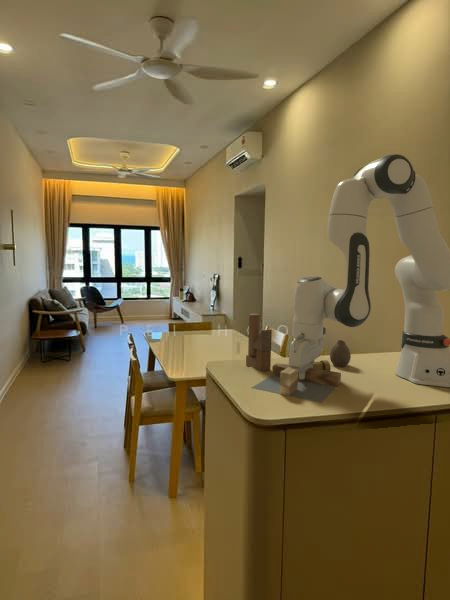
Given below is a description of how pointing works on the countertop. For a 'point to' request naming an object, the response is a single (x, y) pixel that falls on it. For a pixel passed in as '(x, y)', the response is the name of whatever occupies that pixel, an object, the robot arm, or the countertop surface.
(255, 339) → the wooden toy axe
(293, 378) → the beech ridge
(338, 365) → the vase
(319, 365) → the gavel
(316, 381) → the walnut bar
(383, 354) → the countertop surface
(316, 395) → the slate mat
